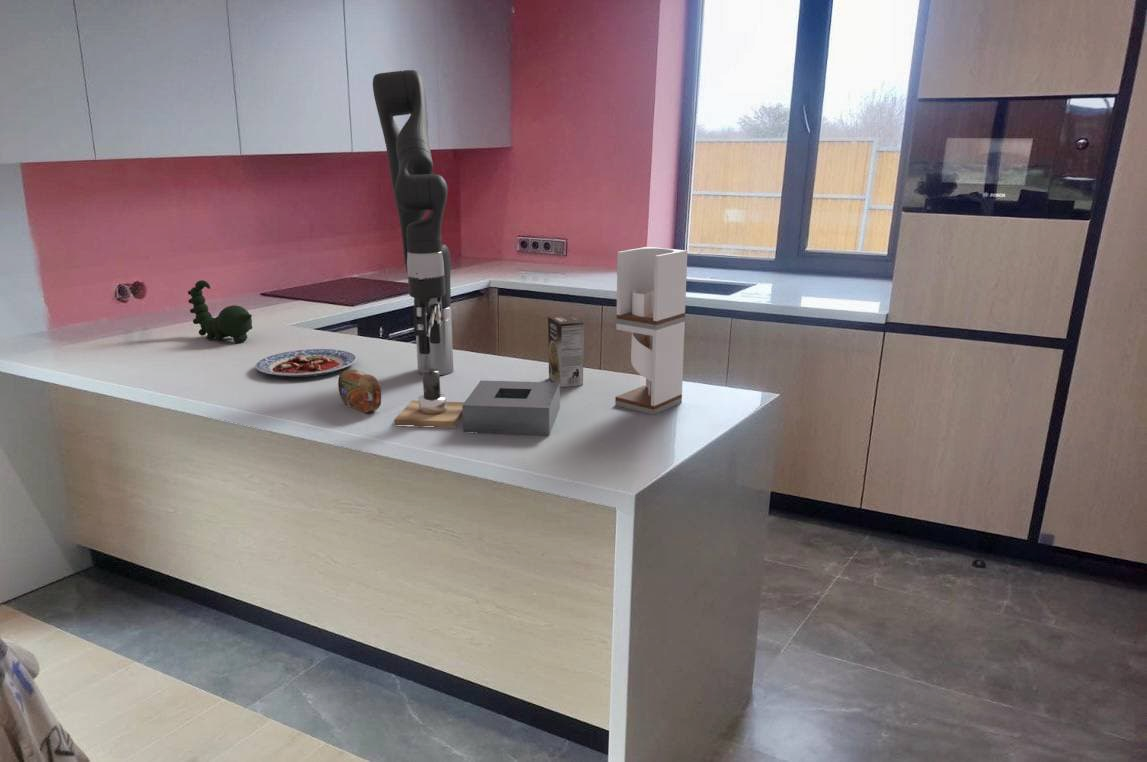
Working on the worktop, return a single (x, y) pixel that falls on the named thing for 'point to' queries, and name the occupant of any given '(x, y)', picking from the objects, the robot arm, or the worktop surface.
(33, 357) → the worktop surface
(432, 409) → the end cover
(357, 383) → the tin
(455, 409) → the oak pad
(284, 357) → the ceramic plate
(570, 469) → the worktop surface
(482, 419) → the housing
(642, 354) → the white shelf stand
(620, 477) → the worktop surface
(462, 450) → the worktop surface
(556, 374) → the coffee box
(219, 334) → the toy figurine
